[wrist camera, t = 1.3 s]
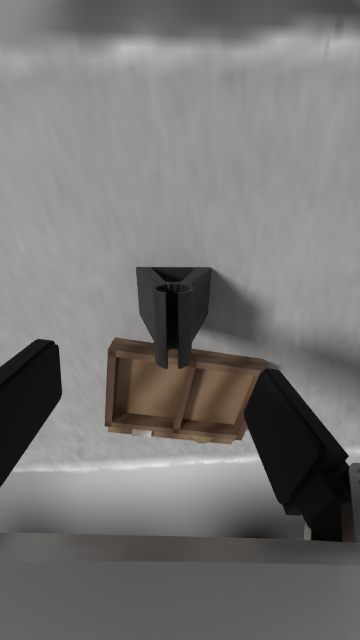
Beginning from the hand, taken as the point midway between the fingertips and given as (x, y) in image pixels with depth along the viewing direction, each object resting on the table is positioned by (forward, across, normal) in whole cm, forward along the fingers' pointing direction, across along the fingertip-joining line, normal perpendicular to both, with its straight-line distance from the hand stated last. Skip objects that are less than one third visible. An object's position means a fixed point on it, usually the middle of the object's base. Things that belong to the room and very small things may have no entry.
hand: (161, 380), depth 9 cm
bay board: (+17, -5, +17) cm, 24 cm away
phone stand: (+17, -1, 0) cm, 17 cm away
